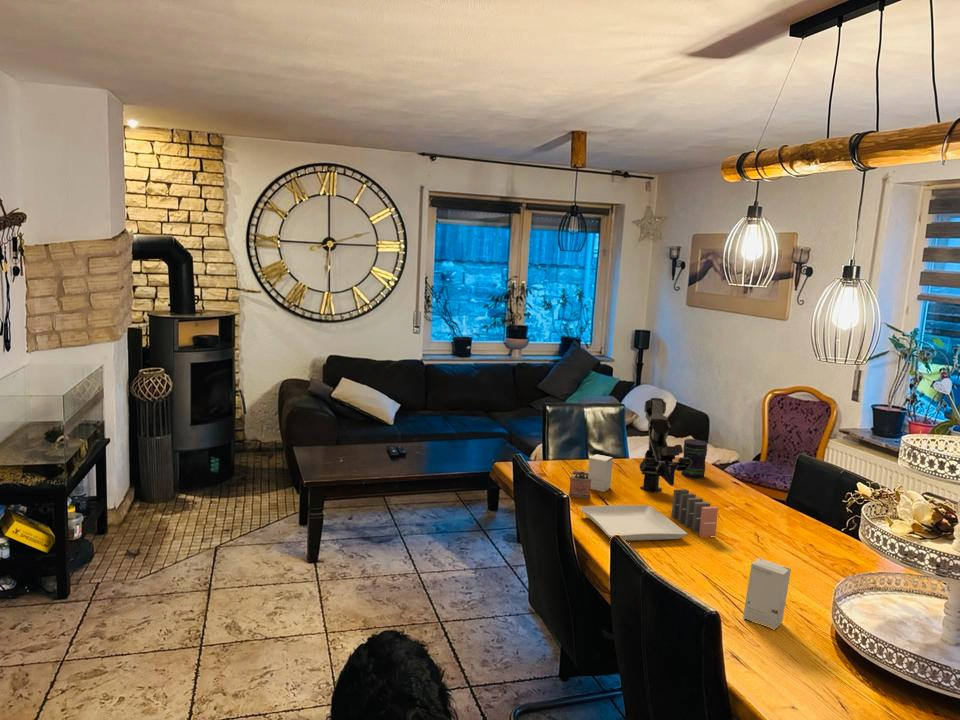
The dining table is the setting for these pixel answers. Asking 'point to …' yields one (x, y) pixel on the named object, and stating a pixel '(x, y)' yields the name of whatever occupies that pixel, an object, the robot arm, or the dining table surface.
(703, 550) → the dining table surface
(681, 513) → the domino
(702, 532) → the domino
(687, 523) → the domino
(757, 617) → the skincare box
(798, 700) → the dining table surface
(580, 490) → the lighter
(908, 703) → the dining table surface
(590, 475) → the supplement box
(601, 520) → the square plate
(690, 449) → the storage jar
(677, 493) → the domino
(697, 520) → the domino
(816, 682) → the dining table surface
